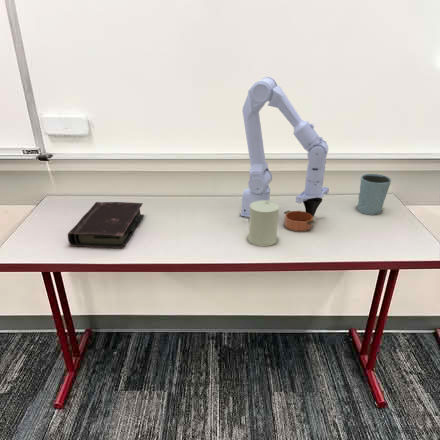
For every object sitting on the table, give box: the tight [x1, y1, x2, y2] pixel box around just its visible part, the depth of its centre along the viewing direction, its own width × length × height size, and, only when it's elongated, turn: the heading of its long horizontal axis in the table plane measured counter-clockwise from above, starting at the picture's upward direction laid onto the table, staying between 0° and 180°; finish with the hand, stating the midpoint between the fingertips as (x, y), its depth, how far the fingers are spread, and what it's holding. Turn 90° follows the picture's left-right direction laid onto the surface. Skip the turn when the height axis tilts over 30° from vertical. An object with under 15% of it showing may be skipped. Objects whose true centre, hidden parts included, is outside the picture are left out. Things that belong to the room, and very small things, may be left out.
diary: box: [67, 201, 145, 249], centre depth 141 cm, size 19×25×5 cm
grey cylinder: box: [356, 173, 392, 216], centre depth 153 cm, size 10×10×12 cm
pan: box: [283, 209, 316, 233], centre depth 144 cm, size 9×12×4 cm
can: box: [247, 200, 280, 247], centre depth 133 cm, size 9×9×12 cm
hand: (309, 217), depth 147 cm, fingers closed
